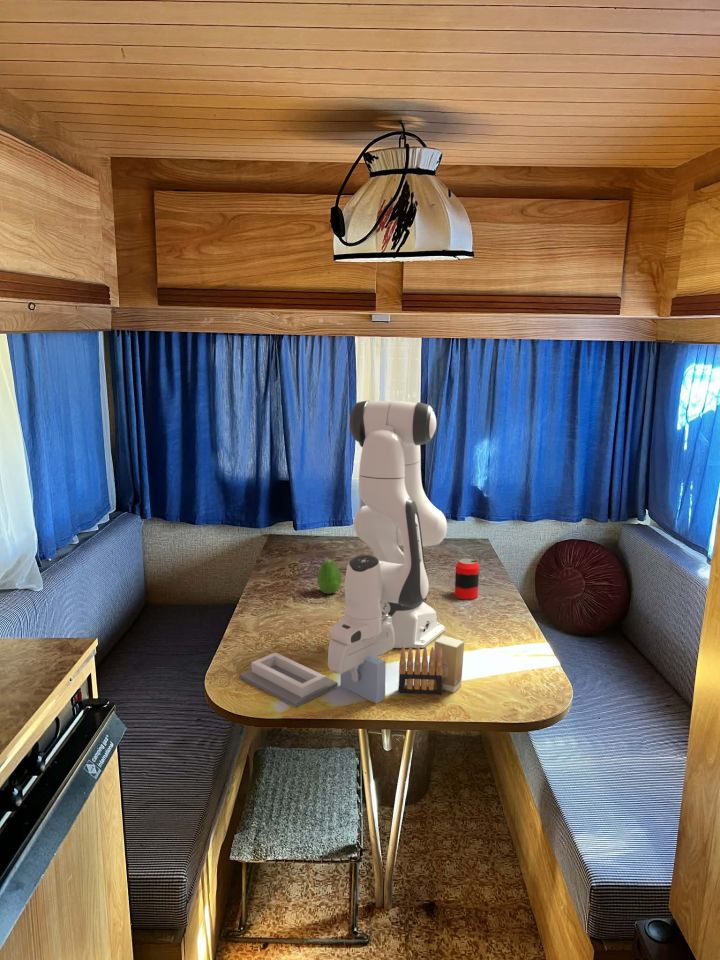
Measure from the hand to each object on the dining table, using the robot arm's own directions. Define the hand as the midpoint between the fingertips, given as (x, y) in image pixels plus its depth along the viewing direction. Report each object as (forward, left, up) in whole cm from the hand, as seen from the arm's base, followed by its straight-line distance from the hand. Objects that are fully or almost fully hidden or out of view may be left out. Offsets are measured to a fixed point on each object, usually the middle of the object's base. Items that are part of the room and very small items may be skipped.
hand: (362, 677), depth 176 cm
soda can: (-71, -19, -4) cm, 74 cm away
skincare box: (-17, +13, -4) cm, 22 cm away
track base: (+9, -17, -4) cm, 20 cm away
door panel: (0, 0, -4) cm, 4 cm away
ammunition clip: (-10, +10, -4) cm, 15 cm away
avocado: (-41, -53, -4) cm, 67 cm away
